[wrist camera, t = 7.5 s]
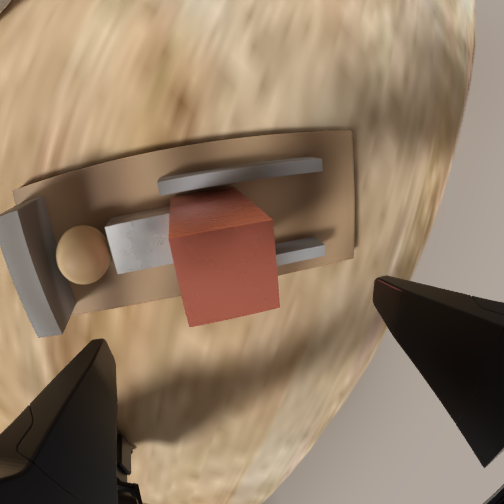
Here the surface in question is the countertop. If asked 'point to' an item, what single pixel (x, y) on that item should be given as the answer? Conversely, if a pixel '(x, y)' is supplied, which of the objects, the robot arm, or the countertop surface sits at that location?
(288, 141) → the nutcracker base
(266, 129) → the countertop surface
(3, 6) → the container
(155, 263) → the block
